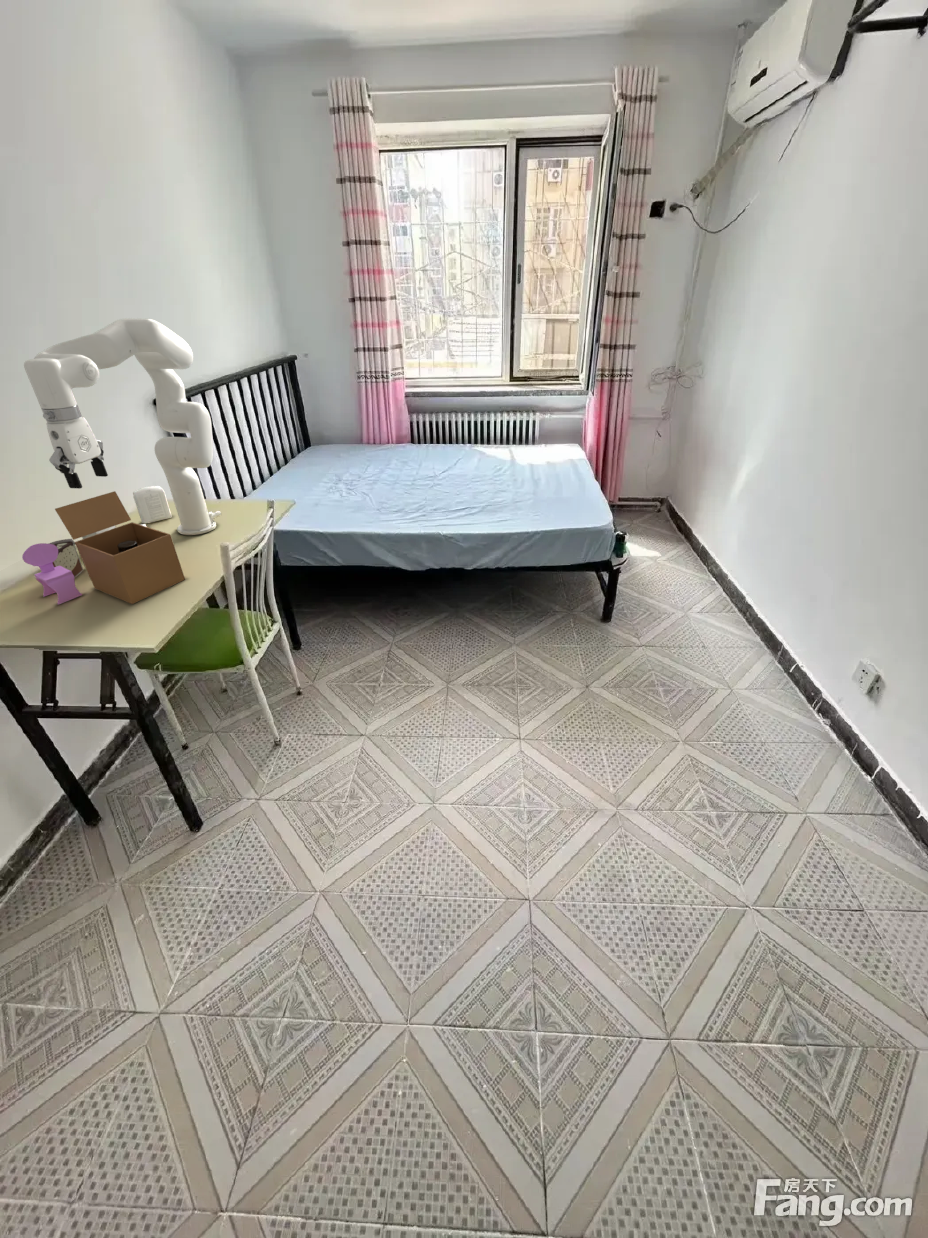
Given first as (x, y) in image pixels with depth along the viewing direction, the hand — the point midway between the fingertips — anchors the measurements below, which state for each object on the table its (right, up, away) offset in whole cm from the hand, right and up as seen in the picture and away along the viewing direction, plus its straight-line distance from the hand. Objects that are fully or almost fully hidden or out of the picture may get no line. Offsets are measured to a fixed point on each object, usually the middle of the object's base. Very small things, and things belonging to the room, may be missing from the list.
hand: (89, 481), depth 138 cm
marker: (-13, -8, +42) cm, 45 cm away
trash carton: (+5, -26, +13) cm, 30 cm away
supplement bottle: (+6, -26, +13) cm, 30 cm away
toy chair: (-12, -30, +7) cm, 33 cm away
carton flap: (-3, -7, +7) cm, 11 cm away
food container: (-19, -24, +16) cm, 35 cm away
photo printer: (-14, 0, +54) cm, 56 cm away
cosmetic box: (-19, -13, +33) cm, 41 cm away
